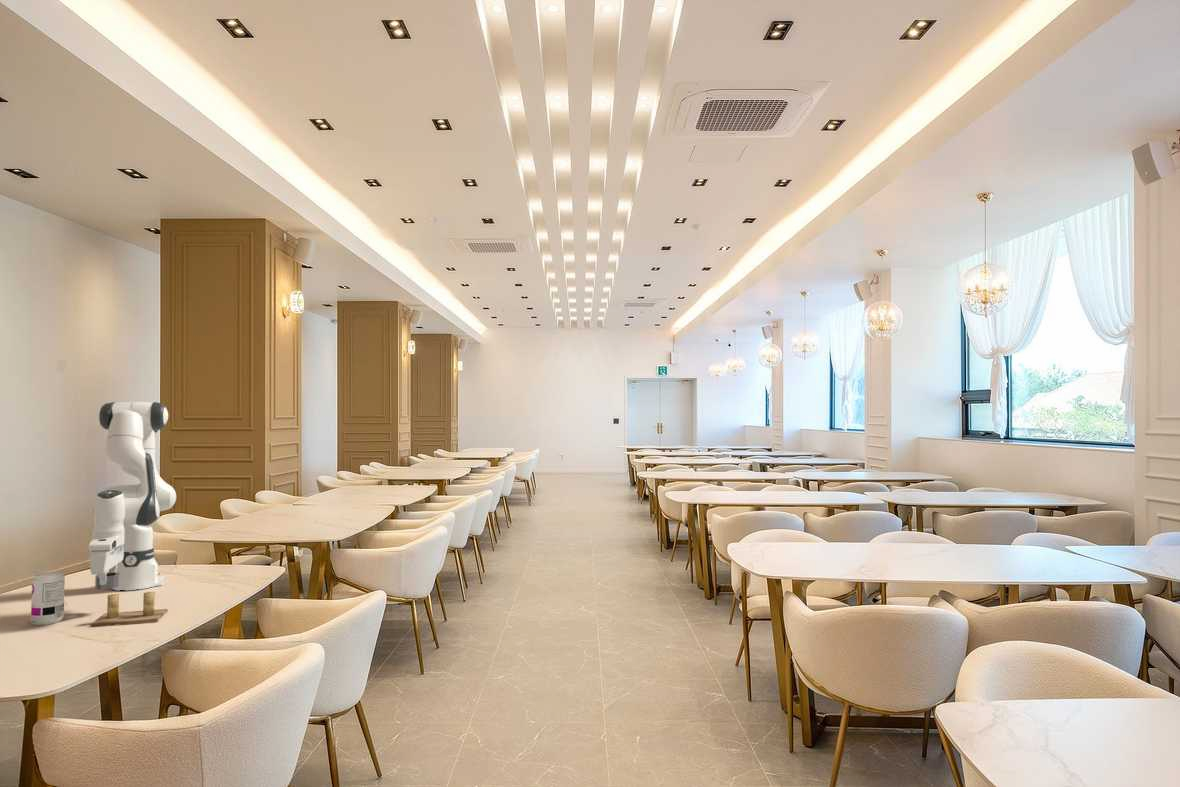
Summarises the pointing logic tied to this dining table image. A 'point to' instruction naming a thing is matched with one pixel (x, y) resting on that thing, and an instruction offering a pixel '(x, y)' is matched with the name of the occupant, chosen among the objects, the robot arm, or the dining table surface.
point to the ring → (108, 581)
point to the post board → (129, 617)
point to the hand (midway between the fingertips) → (107, 581)
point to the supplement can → (47, 598)
